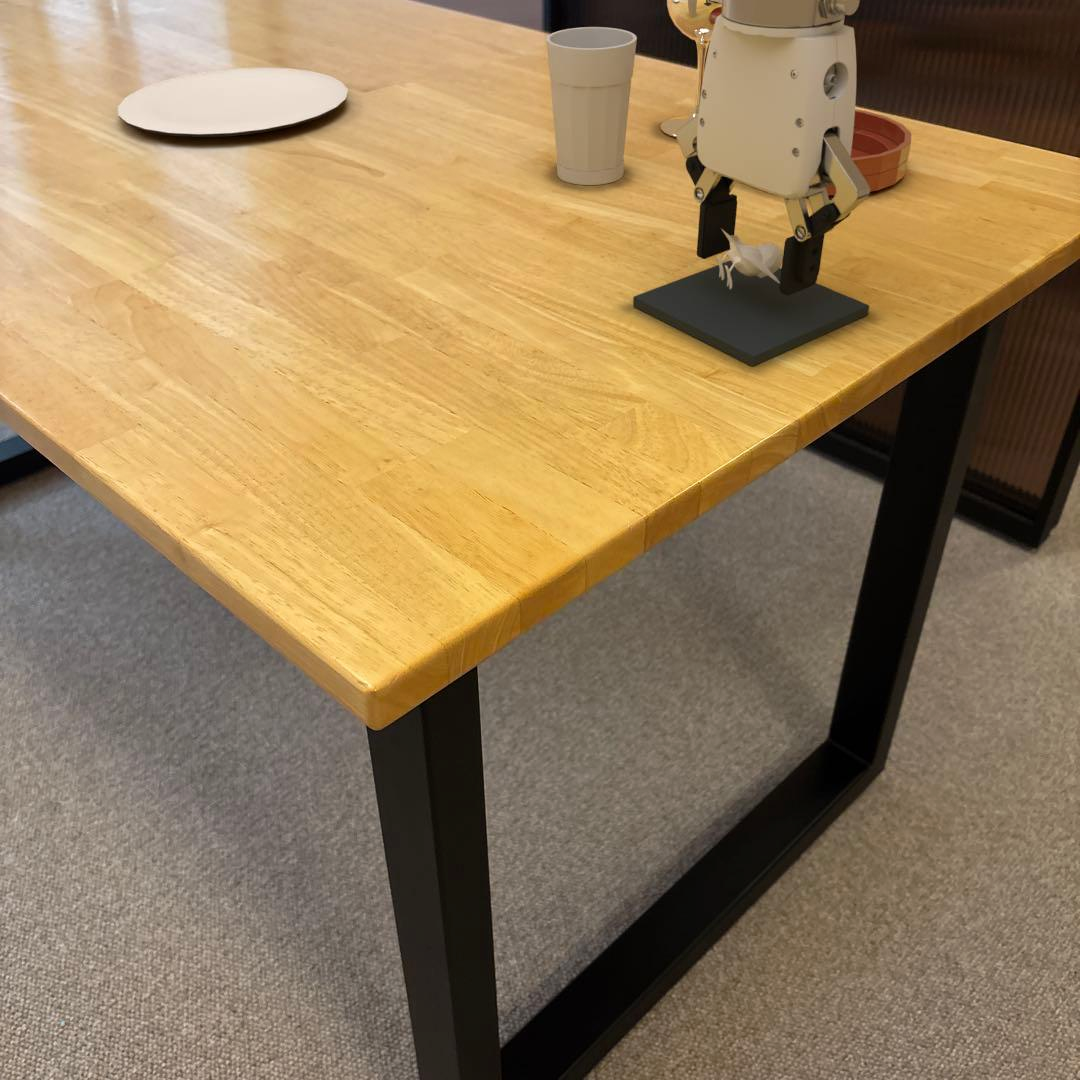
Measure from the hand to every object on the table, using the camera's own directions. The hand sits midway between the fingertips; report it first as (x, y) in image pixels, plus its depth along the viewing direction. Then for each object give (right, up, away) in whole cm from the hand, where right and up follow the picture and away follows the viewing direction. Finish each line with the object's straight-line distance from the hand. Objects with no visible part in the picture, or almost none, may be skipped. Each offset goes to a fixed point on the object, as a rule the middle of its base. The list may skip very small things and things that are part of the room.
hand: (754, 269), depth 77 cm
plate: (-49, +28, +44) cm, 72 cm away
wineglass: (+1, +23, +36) cm, 43 cm away
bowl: (+11, +16, +26) cm, 32 cm away
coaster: (0, -3, +2) cm, 3 cm away
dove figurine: (0, -1, +1) cm, 1 cm away
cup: (-11, +15, +26) cm, 32 cm away
